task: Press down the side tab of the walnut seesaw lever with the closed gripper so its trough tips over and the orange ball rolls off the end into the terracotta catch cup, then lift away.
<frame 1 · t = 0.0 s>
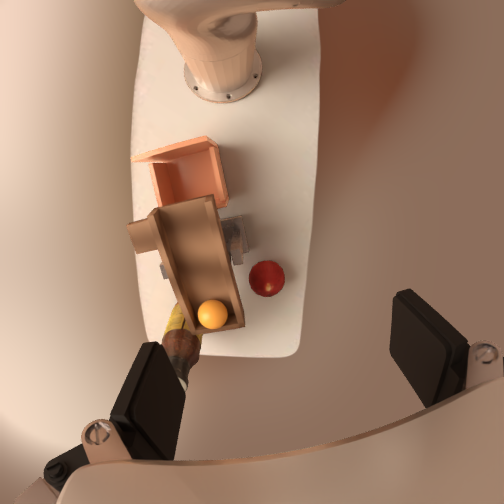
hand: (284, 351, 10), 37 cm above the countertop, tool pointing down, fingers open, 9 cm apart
lever stand: (210, 240, 47), on the countertop
catch cup: (195, 178, 43), on the countertop
onion: (264, 269, 49), on the countertop
lever: (187, 269, 36), point 11 cm above the countertop, hinge at 8.0°, touching ball
sauce bottle: (190, 311, 51), on the countertop
ball: (212, 314, 36), point 13 cm above the countertop, touching lever
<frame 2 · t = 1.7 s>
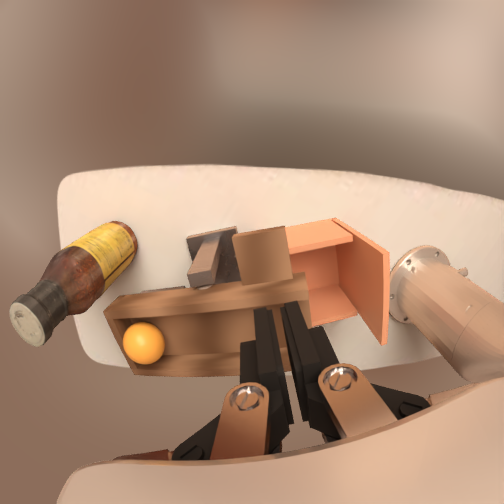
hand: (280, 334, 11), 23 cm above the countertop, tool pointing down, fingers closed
lever stand: (223, 276, 35), on the countertop
catch cup: (305, 259, 35), on the countertop
lever: (205, 307, 24), point 11 cm above the countertop, hinge at 8.0°, touching ball
sauce bottle: (118, 243, 34), on the countertop
ball: (143, 343, 23), point 13 cm above the countertop, touching lever
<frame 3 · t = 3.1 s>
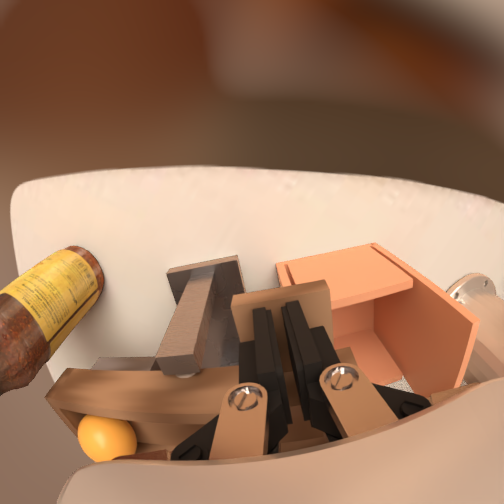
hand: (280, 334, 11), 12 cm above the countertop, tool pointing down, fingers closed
lever stand: (219, 321, 25), on the countertop
catch cup: (332, 299, 25), on the countertop
lever: (189, 397, 14), point 11 cm above the countertop, hinge at 3.6°, touching ball, gripper
sauce bottle: (82, 274, 24), on the countertop
ball: (107, 438, 13), point 13 cm above the countertop, touching lever
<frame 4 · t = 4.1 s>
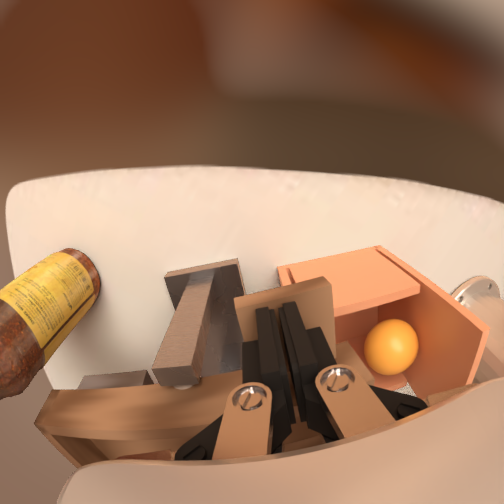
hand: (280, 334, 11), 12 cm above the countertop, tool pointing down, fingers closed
lever stand: (219, 326, 24), on the countertop
catch cup: (335, 303, 24), on the countertop
lever: (189, 409, 13), point 11 cm above the countertop, hinge at -5.8°, touching gripper
sauce bottle: (78, 277, 23), on the countertop
ball: (391, 347, 17), point 8 cm above the countertop, tilted 171°
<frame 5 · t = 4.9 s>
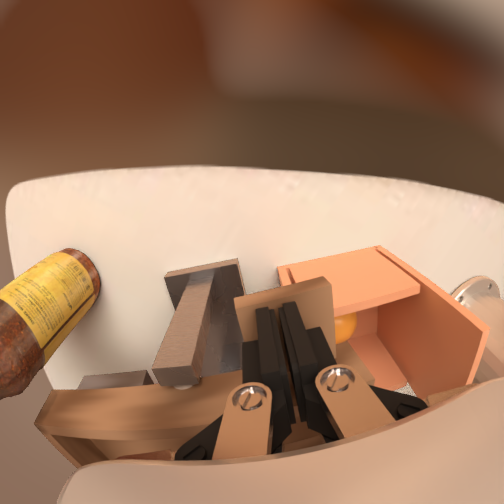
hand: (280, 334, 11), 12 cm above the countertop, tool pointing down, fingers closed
lever stand: (219, 326, 24), on the countertop
catch cup: (335, 303, 24), on the countertop
lever: (189, 409, 13), point 11 cm above the countertop, hinge at -5.8°, touching gripper
sauce bottle: (78, 277, 23), on the countertop
ball: (333, 321, 22), point 3 cm above the countertop, tilted 11°, touching catch cup
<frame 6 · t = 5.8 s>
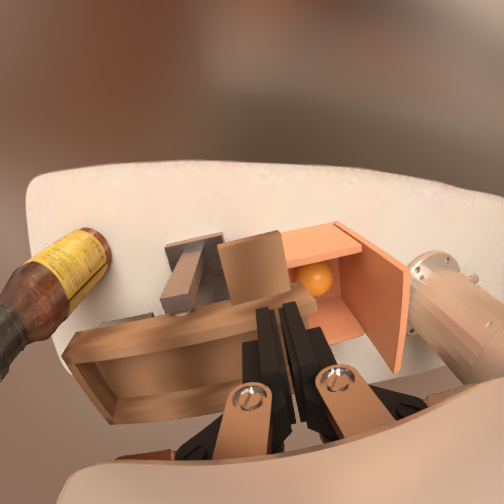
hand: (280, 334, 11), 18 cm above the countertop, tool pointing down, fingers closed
lever stand: (208, 289, 30), on the countertop
catch cup: (303, 269, 30), on the countertop
lever: (185, 336, 19), point 11 cm above the countertop, hinge at -5.8°
sauce bottle: (91, 252, 28), on the countertop
ball: (314, 277, 28), point 3 cm above the countertop, tilted 56°, touching catch cup
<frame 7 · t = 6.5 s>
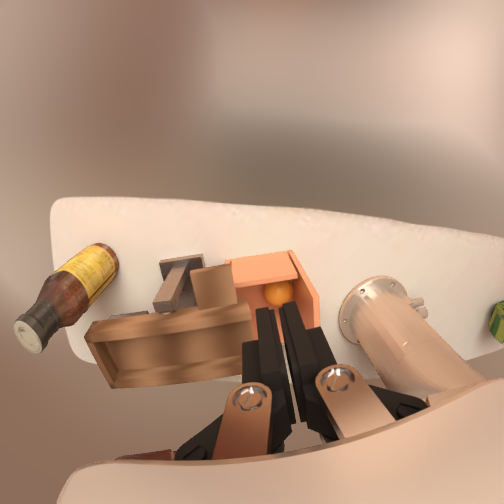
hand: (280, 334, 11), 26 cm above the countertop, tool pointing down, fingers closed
lever stand: (190, 295, 40), on the countertop
catch cup: (263, 285, 40), on the countertop
lever: (168, 328, 28), point 11 cm above the countertop, hinge at -5.8°
sauce bottle: (102, 261, 38), on the countertop
ball: (278, 291, 37), point 3 cm above the countertop, tilted 91°, touching catch cup
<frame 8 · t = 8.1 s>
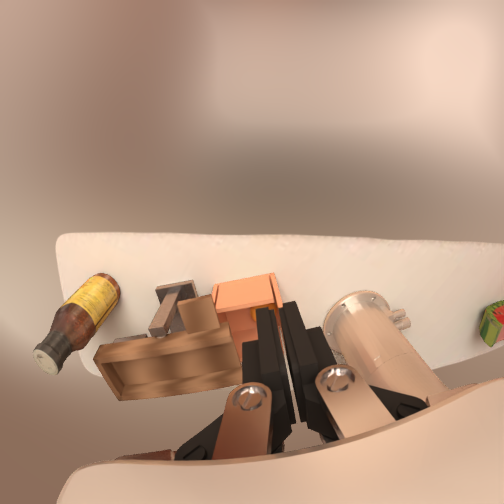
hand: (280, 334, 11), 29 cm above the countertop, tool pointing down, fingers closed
lever stand: (185, 316, 44), on the countertop
fruit slice: (497, 309, 48), on the countertop
catch cup: (249, 304, 43), on the countertop
lever: (163, 349, 32), point 11 cm above the countertop, hinge at -5.8°
sauce bottle: (106, 289, 42), on the countertop
ball: (263, 310, 41), point 3 cm above the countertop, tilted 95°, touching catch cup
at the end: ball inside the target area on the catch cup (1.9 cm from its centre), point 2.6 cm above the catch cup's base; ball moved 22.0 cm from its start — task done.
